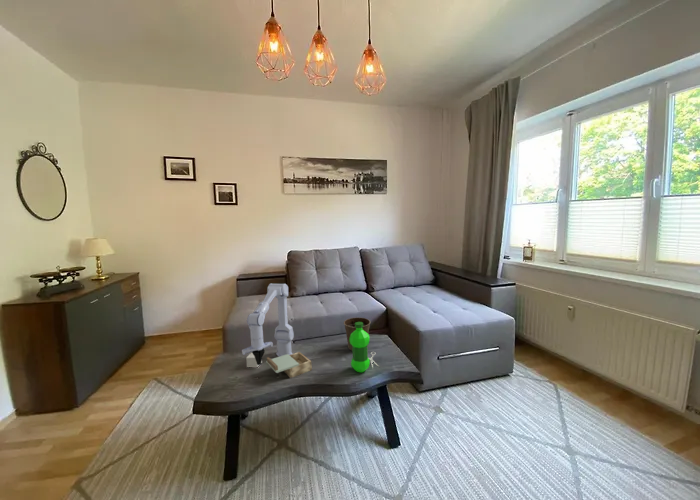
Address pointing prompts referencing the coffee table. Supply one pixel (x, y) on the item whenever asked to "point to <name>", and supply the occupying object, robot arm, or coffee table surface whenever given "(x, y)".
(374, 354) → the scissors
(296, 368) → the storage box
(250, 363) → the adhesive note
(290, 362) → the lid
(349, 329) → the plant pot
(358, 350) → the plastic bottle
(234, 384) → the coffee table surface
